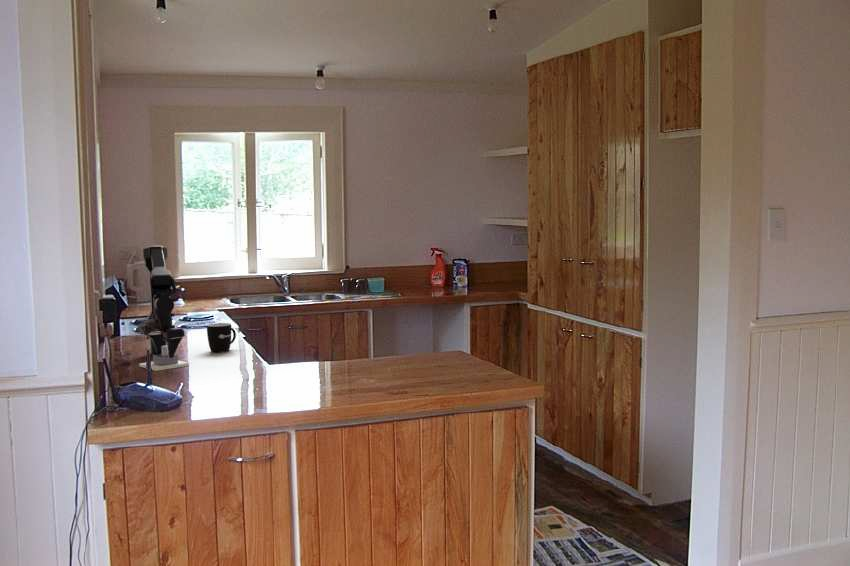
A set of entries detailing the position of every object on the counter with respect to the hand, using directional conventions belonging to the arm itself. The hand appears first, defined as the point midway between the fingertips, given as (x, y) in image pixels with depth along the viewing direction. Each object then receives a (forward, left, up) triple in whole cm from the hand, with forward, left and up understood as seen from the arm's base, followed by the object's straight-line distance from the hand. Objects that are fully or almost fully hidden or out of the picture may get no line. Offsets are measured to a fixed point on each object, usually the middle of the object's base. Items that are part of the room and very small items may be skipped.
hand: (165, 356), depth 279 cm
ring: (0, 0, -2) cm, 3 cm away
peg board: (-1, 0, -4) cm, 4 cm away
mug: (-14, +30, -4) cm, 33 cm away
